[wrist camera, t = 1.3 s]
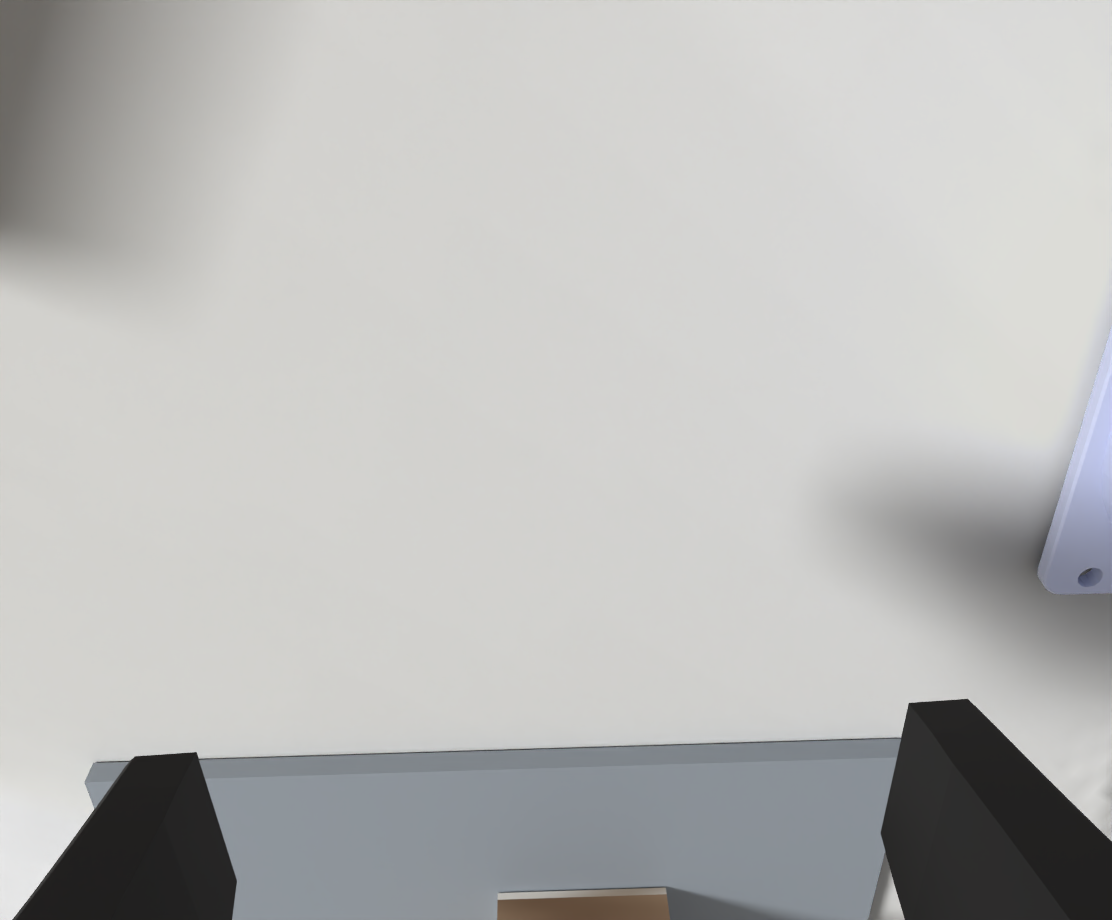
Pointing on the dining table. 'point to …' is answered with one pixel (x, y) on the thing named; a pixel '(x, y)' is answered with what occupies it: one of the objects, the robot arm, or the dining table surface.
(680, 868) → the light grey mat
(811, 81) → the dining table surface
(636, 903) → the walnut block
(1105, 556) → the robot arm
